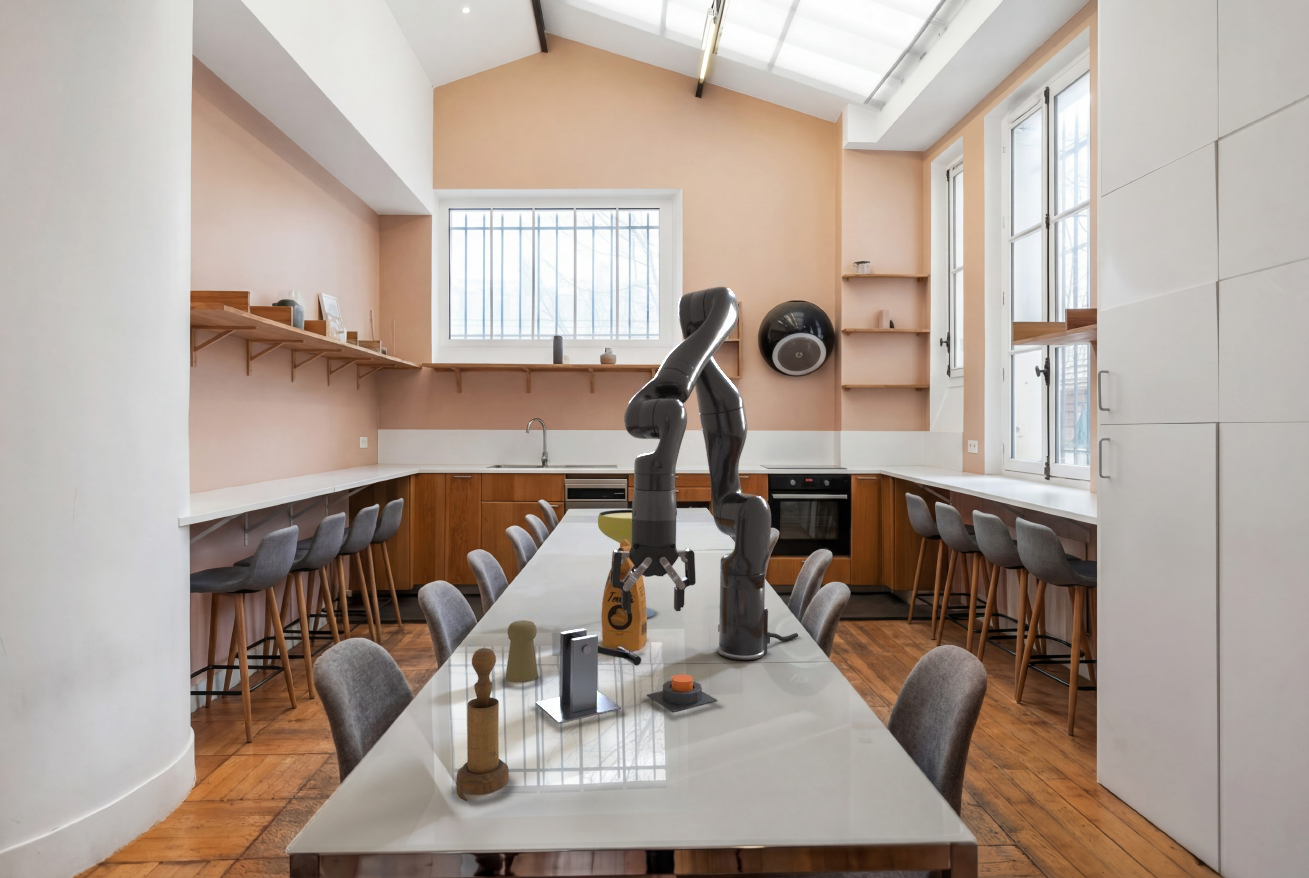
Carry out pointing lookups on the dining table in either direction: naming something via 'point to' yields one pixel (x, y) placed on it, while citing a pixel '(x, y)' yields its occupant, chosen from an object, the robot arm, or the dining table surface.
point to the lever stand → (578, 680)
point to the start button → (682, 682)
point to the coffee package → (618, 623)
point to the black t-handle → (614, 652)
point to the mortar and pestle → (482, 735)
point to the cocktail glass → (618, 529)
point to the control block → (681, 697)
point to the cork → (521, 652)
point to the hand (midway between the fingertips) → (652, 611)
